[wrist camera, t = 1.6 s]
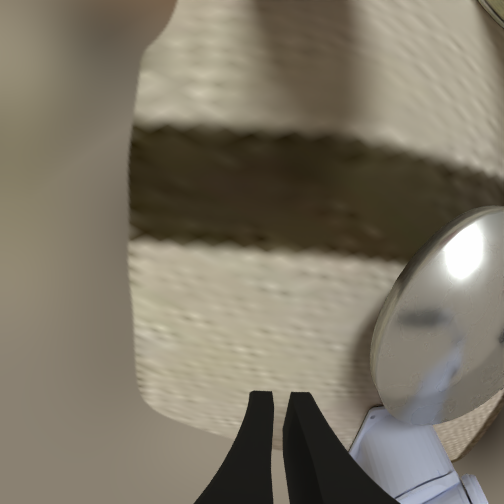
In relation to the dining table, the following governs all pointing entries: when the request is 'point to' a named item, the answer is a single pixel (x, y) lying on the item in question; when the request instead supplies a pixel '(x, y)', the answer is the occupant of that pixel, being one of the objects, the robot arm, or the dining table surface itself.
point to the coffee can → (494, 9)
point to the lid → (444, 324)
